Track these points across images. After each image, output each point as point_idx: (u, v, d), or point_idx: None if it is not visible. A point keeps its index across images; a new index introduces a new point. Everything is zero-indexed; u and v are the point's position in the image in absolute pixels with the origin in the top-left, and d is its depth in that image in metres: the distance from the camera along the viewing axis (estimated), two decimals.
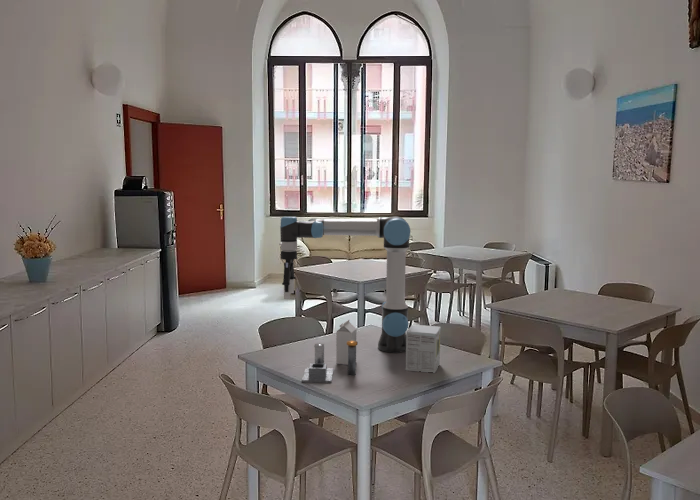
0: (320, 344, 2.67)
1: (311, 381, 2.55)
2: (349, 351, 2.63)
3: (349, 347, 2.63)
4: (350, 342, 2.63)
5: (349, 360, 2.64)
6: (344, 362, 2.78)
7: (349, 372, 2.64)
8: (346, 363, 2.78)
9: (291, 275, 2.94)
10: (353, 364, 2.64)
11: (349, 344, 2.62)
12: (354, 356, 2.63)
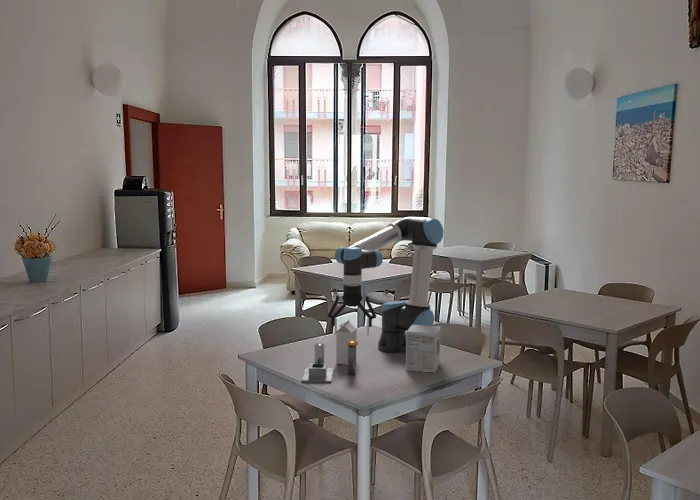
0: (320, 344, 2.67)
1: (311, 381, 2.55)
2: (349, 351, 2.63)
3: (349, 347, 2.63)
4: (350, 342, 2.63)
5: (349, 360, 2.64)
6: (344, 362, 2.78)
7: (349, 372, 2.64)
8: (346, 363, 2.78)
9: (365, 314, 2.62)
10: (353, 364, 2.64)
11: (349, 344, 2.62)
12: (354, 356, 2.63)
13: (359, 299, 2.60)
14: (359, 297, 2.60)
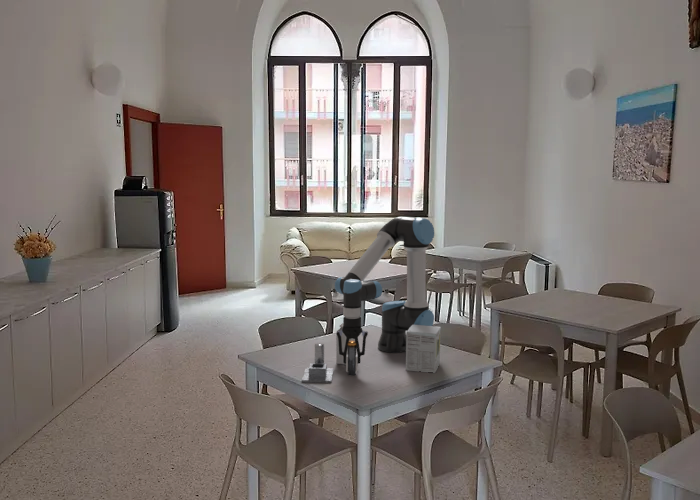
0: (320, 344, 2.67)
1: (311, 381, 2.55)
2: (349, 351, 2.63)
3: (349, 347, 2.63)
4: (350, 342, 2.63)
5: (349, 360, 2.64)
6: None
7: (349, 372, 2.64)
8: None
9: None
10: (353, 364, 2.64)
11: (349, 344, 2.62)
12: (354, 356, 2.63)
13: (358, 331, 2.62)
14: (359, 329, 2.62)
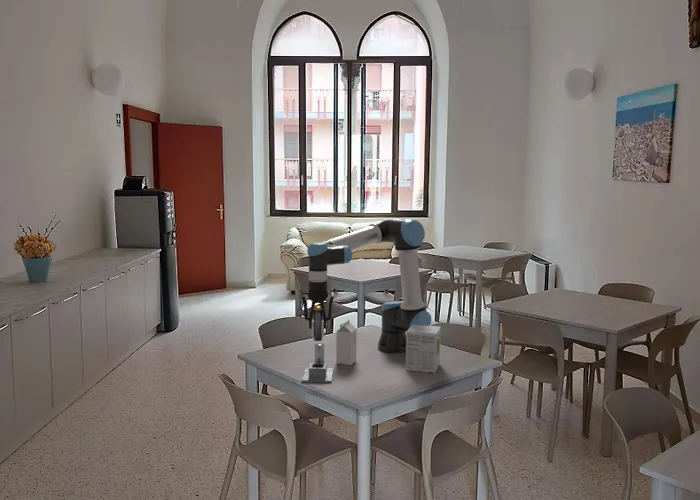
0: (320, 344, 2.67)
1: (311, 381, 2.55)
2: (315, 316, 2.57)
3: (315, 312, 2.56)
4: (316, 307, 2.57)
5: (315, 325, 2.57)
6: (344, 362, 2.78)
7: (315, 338, 2.58)
8: (346, 363, 2.78)
9: None
10: (319, 329, 2.57)
11: (315, 308, 2.55)
12: (320, 321, 2.57)
13: (324, 295, 2.56)
14: (325, 294, 2.55)
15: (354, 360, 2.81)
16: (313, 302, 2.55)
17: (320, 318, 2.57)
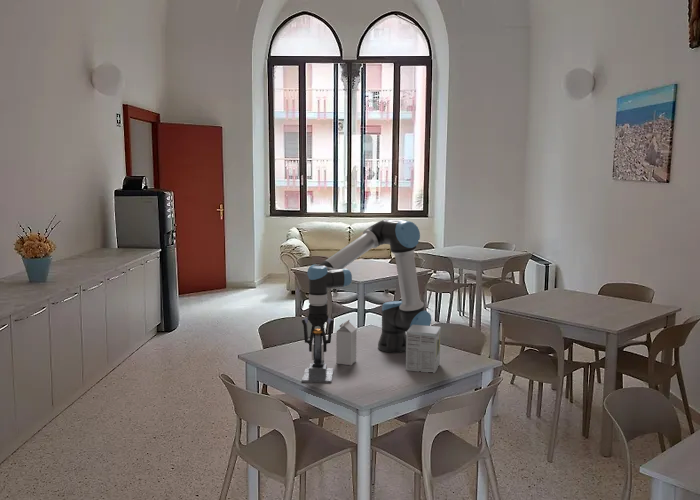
0: None
1: (311, 381, 2.55)
2: (315, 339, 2.58)
3: (315, 335, 2.58)
4: (316, 330, 2.58)
5: (315, 348, 2.58)
6: (344, 362, 2.78)
7: (315, 360, 2.59)
8: (346, 363, 2.78)
9: None
10: (319, 352, 2.58)
11: (314, 332, 2.57)
12: (320, 344, 2.58)
13: (324, 319, 2.57)
14: (325, 317, 2.57)
15: (354, 360, 2.81)
16: (313, 325, 2.57)
17: (320, 341, 2.58)
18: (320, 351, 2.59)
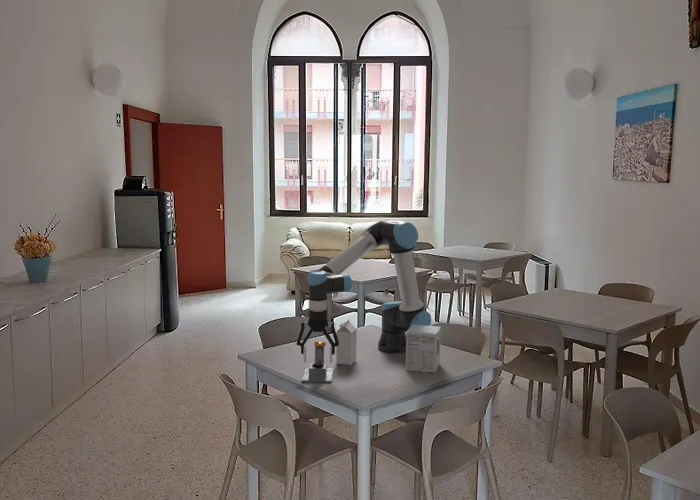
0: None
1: (311, 381, 2.55)
2: (316, 351, 2.58)
3: (317, 347, 2.58)
4: (318, 342, 2.58)
5: (316, 360, 2.59)
6: (344, 362, 2.78)
7: None
8: (346, 363, 2.78)
9: None
10: (319, 365, 2.59)
11: (317, 344, 2.57)
12: (321, 357, 2.59)
13: (325, 324, 2.57)
14: (325, 322, 2.57)
15: (354, 360, 2.81)
16: (311, 330, 2.57)
17: (321, 354, 2.58)
18: (321, 364, 2.59)
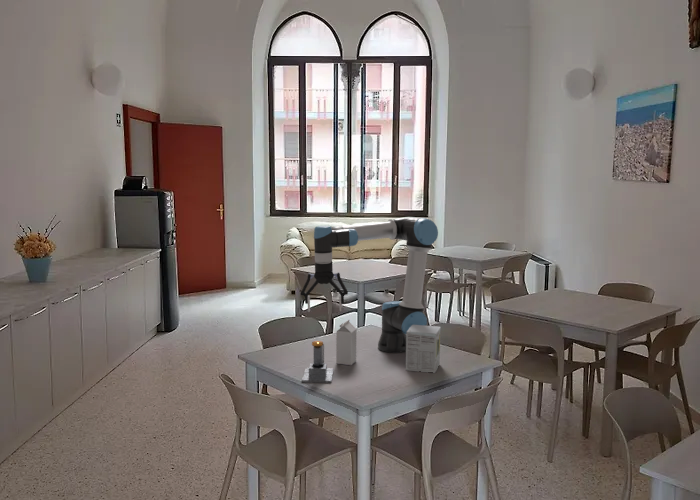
0: None
1: (311, 381, 2.55)
2: (314, 351, 2.59)
3: (314, 347, 2.58)
4: (315, 342, 2.59)
5: (315, 361, 2.59)
6: (344, 362, 2.78)
7: None
8: (346, 363, 2.78)
9: None
10: (319, 365, 2.59)
11: (314, 344, 2.57)
12: (320, 357, 2.59)
13: (330, 276, 2.67)
14: (330, 274, 2.67)
15: (354, 360, 2.81)
16: (317, 282, 2.67)
17: (320, 354, 2.59)
18: (320, 363, 2.59)
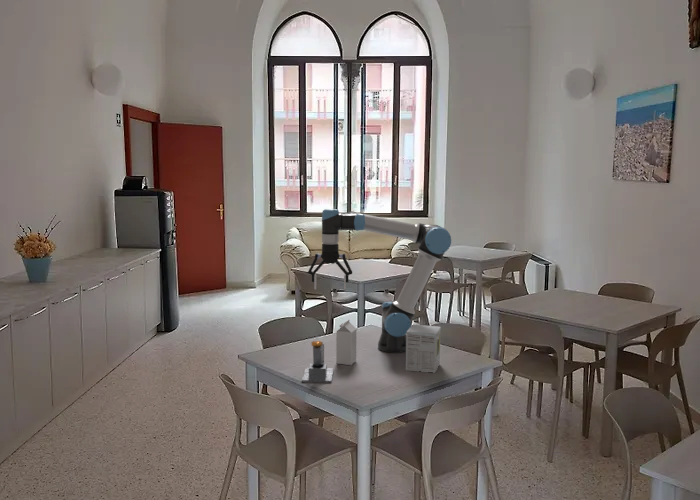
0: None
1: (311, 381, 2.55)
2: (314, 351, 2.59)
3: (314, 347, 2.58)
4: (315, 342, 2.59)
5: (314, 361, 2.59)
6: (344, 362, 2.78)
7: None
8: (346, 363, 2.78)
9: (342, 270, 2.85)
10: (318, 365, 2.59)
11: (314, 344, 2.57)
12: (319, 356, 2.59)
13: (336, 256, 2.84)
14: (336, 255, 2.84)
15: (354, 360, 2.81)
16: (323, 261, 2.84)
17: (319, 353, 2.59)
18: (320, 363, 2.59)
